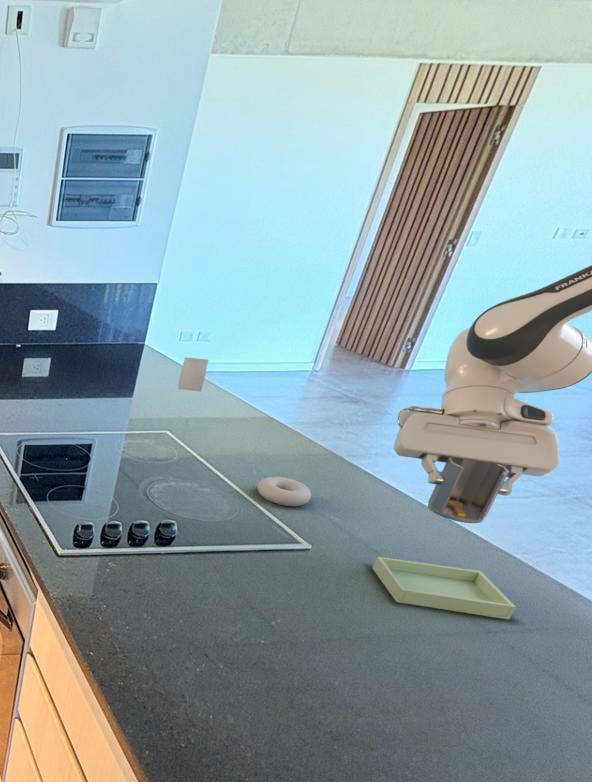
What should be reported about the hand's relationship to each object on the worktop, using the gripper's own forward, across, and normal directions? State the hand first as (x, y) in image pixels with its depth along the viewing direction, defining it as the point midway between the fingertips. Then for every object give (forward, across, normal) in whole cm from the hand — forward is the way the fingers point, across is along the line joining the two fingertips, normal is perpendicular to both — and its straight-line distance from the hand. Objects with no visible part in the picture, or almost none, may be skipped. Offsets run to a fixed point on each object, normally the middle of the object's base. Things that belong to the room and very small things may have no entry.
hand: (468, 488), depth 101 cm
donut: (-2, -21, +27) cm, 34 cm away
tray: (+16, 0, +8) cm, 18 cm away
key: (+3, 0, +4) cm, 4 cm away
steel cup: (+3, 0, +4) cm, 5 cm away
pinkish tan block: (-54, -43, +78) cm, 104 cm away
